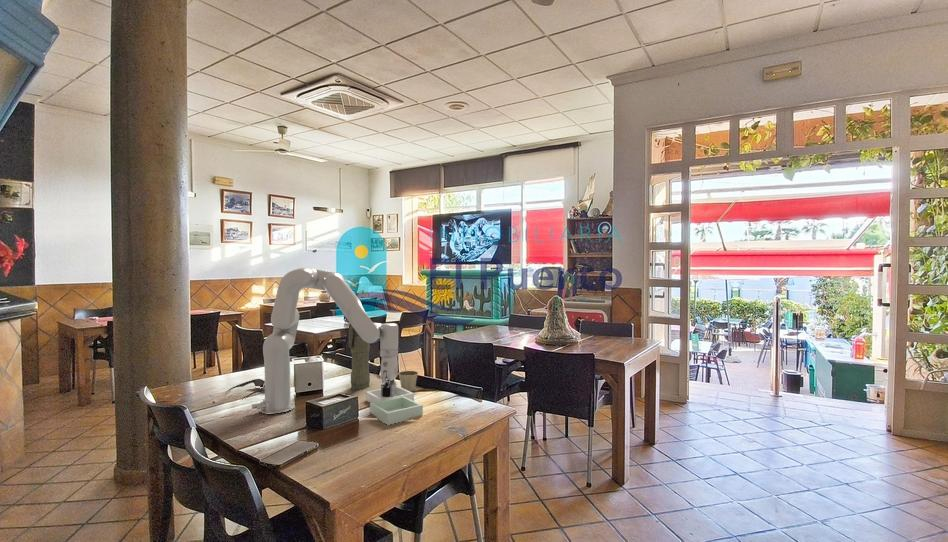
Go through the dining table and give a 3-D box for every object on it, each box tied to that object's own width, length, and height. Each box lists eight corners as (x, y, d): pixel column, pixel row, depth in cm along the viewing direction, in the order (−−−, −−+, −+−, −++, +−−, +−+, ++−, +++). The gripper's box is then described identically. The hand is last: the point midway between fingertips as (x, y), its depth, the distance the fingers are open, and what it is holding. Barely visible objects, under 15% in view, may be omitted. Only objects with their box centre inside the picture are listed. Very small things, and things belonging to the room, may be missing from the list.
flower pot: (420, 388, 208) (420, 370, 207) (415, 394, 198) (415, 375, 198) (401, 388, 208) (401, 370, 208) (395, 394, 199) (395, 375, 199)
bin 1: (381, 411, 175) (381, 400, 175) (366, 402, 187) (365, 391, 187) (414, 403, 184) (414, 393, 184) (397, 395, 196) (397, 385, 196)
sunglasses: (276, 392, 204) (275, 382, 203) (241, 405, 189) (240, 394, 189) (255, 387, 212) (254, 377, 212) (221, 399, 198) (219, 389, 198)
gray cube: (392, 397, 183) (392, 385, 183) (380, 396, 183) (381, 384, 183) (395, 393, 188) (396, 382, 188) (384, 393, 188) (384, 381, 188)
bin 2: (387, 425, 159) (387, 413, 159) (370, 414, 171) (370, 403, 171) (422, 416, 169) (422, 405, 168) (403, 407, 180) (403, 396, 180)
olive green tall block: (375, 386, 212) (375, 314, 212) (357, 392, 202) (357, 317, 202) (363, 383, 217) (362, 313, 217) (344, 389, 207) (344, 316, 207)
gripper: (391, 356, 177) (390, 401, 177) (403, 349, 194) (402, 389, 194) (373, 355, 178) (372, 400, 178) (386, 348, 194) (386, 389, 195)
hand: (388, 394), depth 186 cm, fingers closed on gray cube, 5 cm apart
